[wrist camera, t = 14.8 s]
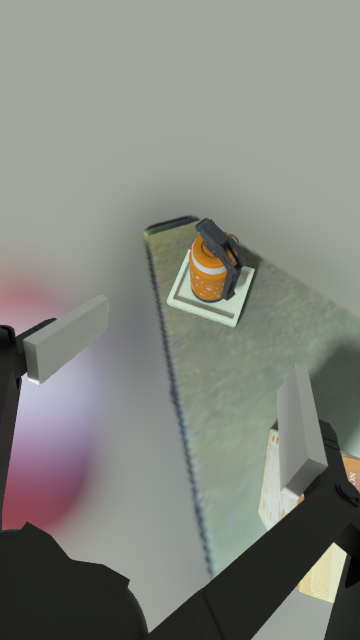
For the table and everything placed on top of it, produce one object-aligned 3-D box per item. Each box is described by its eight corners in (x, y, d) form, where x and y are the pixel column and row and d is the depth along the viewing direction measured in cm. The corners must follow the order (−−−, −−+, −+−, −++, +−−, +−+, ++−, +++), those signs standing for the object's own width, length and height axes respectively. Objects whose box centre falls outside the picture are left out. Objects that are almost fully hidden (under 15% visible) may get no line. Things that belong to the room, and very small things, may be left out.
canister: (212, 261, 60) (218, 198, 41) (244, 294, 57) (267, 242, 38) (183, 284, 59) (175, 229, 40) (214, 318, 56) (222, 277, 37)
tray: (252, 274, 59) (254, 269, 57) (234, 328, 56) (235, 324, 53) (189, 255, 62) (188, 249, 60) (168, 305, 59) (166, 301, 56)
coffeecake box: (297, 526, 44) (368, 619, 26) (256, 513, 45) (297, 594, 27) (306, 437, 49) (374, 462, 30) (269, 427, 50) (312, 445, 31)
